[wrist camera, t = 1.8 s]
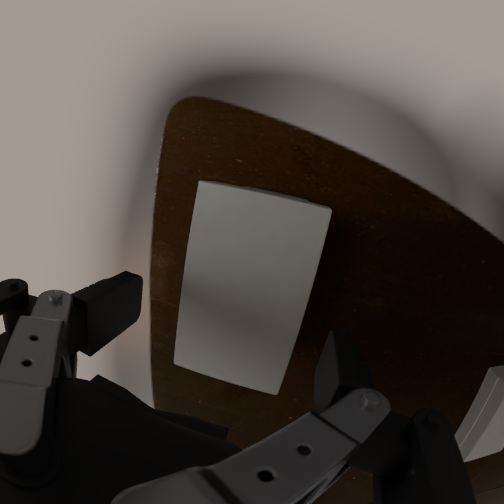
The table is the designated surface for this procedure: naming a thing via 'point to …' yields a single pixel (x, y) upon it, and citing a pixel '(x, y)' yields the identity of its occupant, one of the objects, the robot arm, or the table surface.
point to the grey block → (484, 419)
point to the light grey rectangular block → (247, 283)
